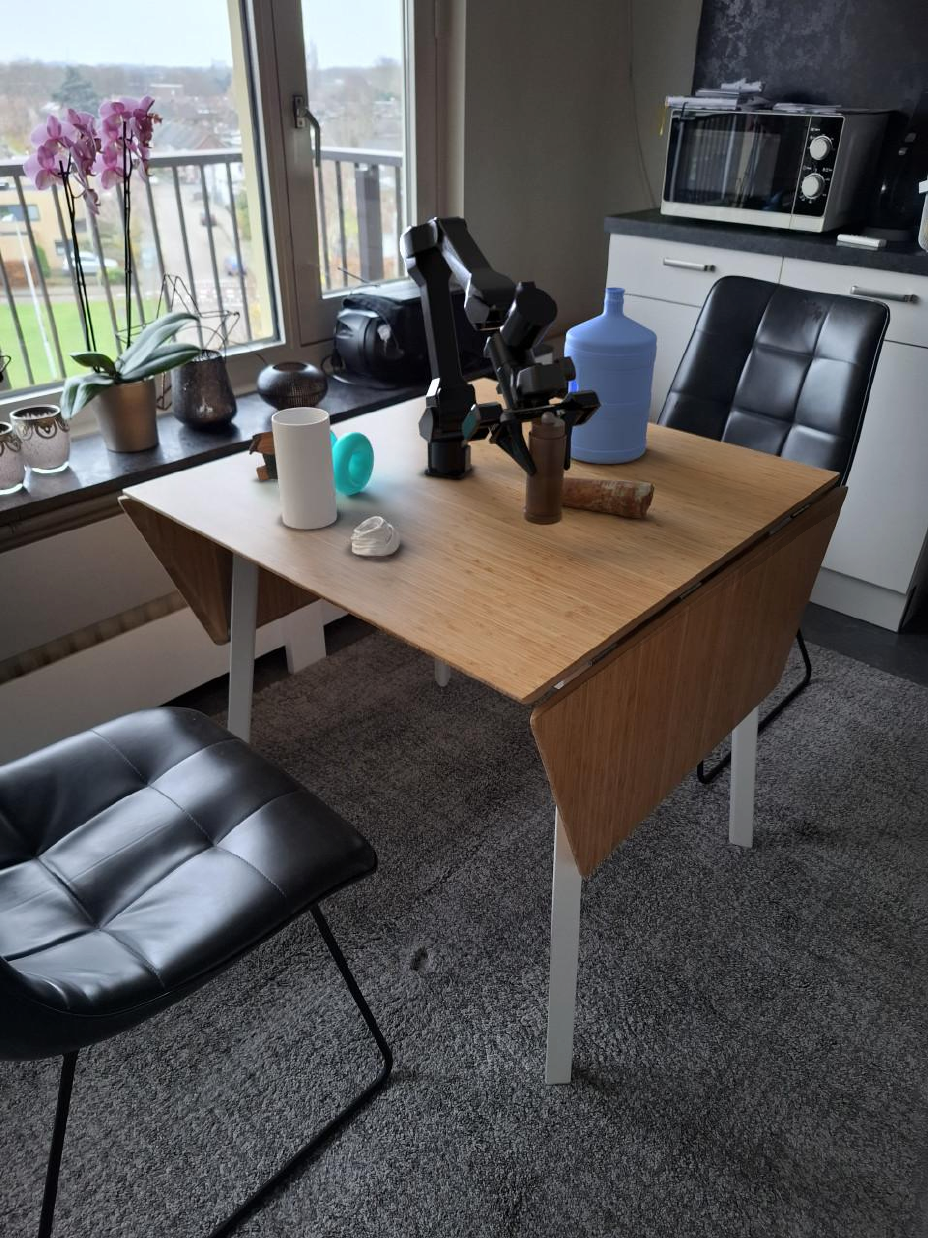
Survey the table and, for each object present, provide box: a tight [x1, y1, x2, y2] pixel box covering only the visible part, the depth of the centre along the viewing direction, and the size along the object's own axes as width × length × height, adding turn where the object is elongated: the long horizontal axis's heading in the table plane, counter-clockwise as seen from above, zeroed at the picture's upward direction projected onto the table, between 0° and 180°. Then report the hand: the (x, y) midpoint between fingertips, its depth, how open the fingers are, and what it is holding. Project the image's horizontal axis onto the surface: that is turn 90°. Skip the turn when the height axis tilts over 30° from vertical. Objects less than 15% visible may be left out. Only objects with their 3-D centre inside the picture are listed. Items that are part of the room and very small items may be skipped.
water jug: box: [563, 287, 658, 465], centre depth 153 cm, size 16×16×28 cm
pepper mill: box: [522, 412, 566, 526], centre depth 118 cm, size 5×5×15 cm
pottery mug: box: [248, 430, 278, 481], centre depth 150 cm, size 12×10×8 cm
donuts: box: [330, 428, 375, 496], centre depth 142 cm, size 10×10×10 cm
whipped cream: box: [350, 516, 400, 557], centre depth 124 cm, size 8×7×5 cm
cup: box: [271, 407, 338, 530], centre depth 130 cm, size 8×8×16 cm
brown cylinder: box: [562, 476, 656, 519], centre depth 137 cm, size 6×19×6 cm, turn 64°
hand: (550, 472), depth 118 cm, fingers closed on pepper mill, 5 cm apart
